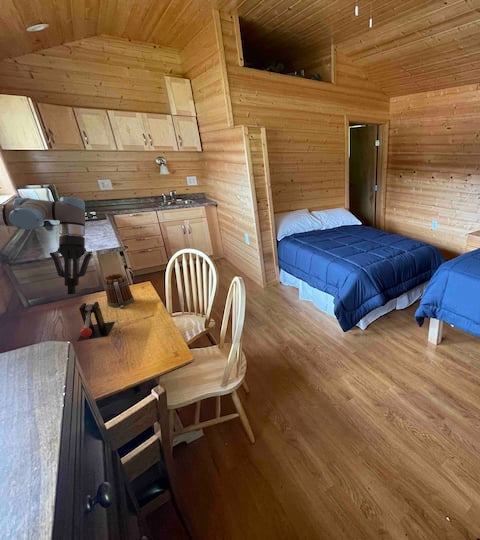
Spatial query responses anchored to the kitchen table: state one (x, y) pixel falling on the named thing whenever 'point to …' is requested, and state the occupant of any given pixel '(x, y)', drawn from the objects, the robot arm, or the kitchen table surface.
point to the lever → (87, 322)
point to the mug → (118, 291)
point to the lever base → (99, 328)
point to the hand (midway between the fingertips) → (71, 294)
